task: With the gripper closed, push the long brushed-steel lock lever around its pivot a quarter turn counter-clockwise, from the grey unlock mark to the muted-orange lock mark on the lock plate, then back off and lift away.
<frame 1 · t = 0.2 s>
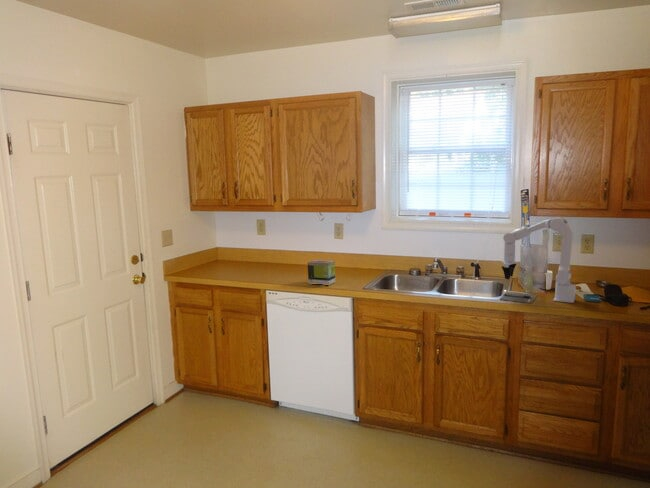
hand: (508, 277, 265), 9 cm above the counter, tool pointing down, fingers open, 7 cm apart
lock lever: (516, 293, 260), point 2 cm above the counter, hinge at 0.0°
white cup: (544, 288, 276), on the counter
tea box: (321, 284, 306), on the counter
lock plate: (518, 298, 258), on the counter
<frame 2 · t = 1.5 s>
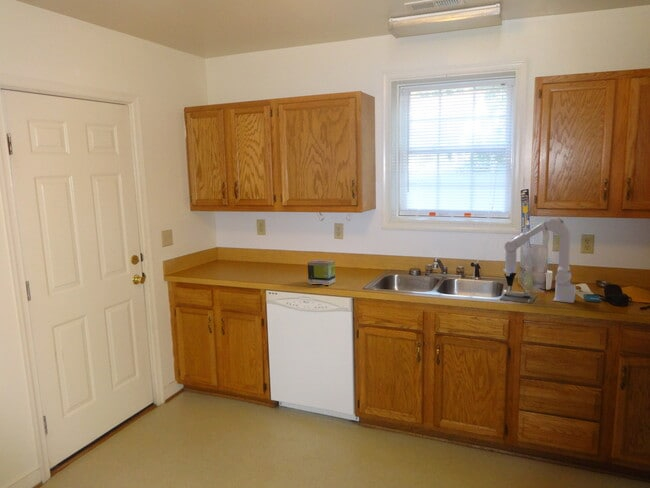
hand: (509, 285, 267), 4 cm above the counter, tool pointing down, fingers closed
nothing on the counter moved.
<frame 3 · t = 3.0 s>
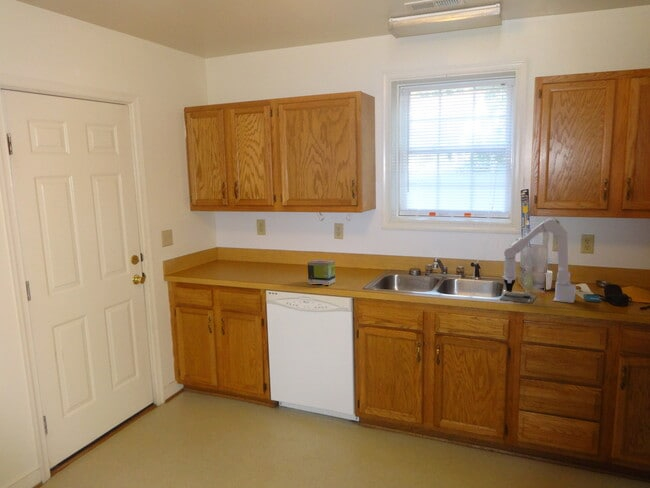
hand: (509, 292, 264), 1 cm above the counter, tool pointing down, fingers closed
lock lever: (516, 293, 260), point 2 cm above the counter, hinge at 1.6°, touching gripper
everything else where it was.
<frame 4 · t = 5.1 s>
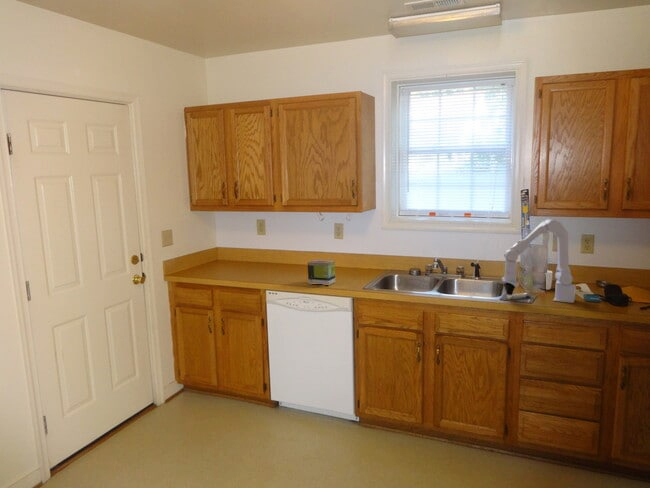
hand: (509, 296, 256), 1 cm above the counter, tool pointing down, fingers closed
lock lever: (518, 295, 255), point 2 cm above the counter, hinge at 49.3°, touching gripper
everything else where it was.
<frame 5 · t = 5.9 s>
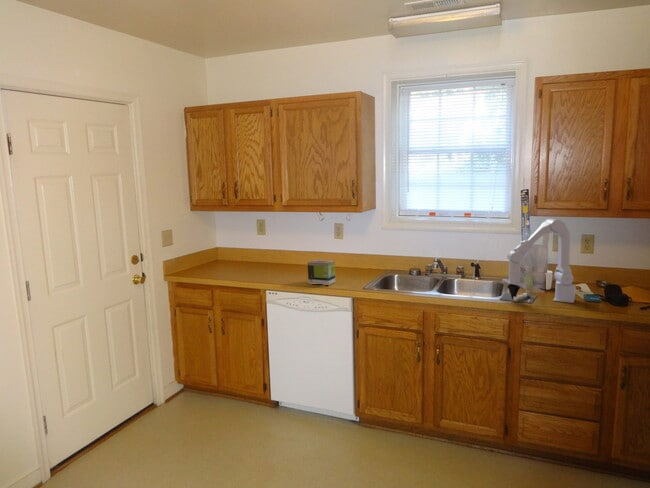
hand: (513, 298, 253), 1 cm above the counter, tool pointing down, fingers closed
lock lever: (521, 296, 254), point 2 cm above the counter, hinge at 70.6°, touching gripper
everything else where it was.
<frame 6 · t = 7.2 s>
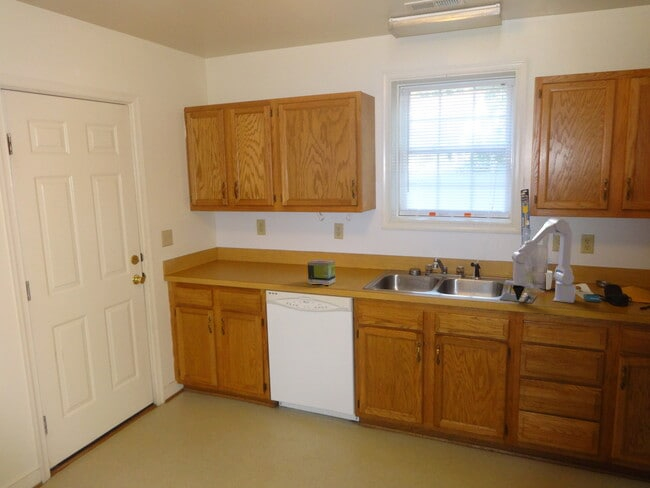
hand: (518, 299, 250), 1 cm above the counter, tool pointing down, fingers closed
lock lever: (524, 297, 253), point 2 cm above the counter, hinge at 87.1°, touching gripper
everything else where it was.
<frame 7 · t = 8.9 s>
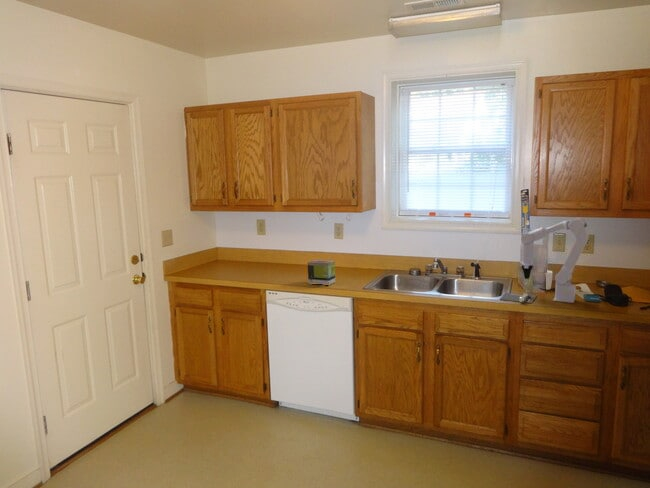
hand: (526, 278, 262), 9 cm above the counter, tool pointing down, fingers closed
lock lever: (524, 297, 253), point 2 cm above the counter, hinge at 87.2°
everything else where it was.
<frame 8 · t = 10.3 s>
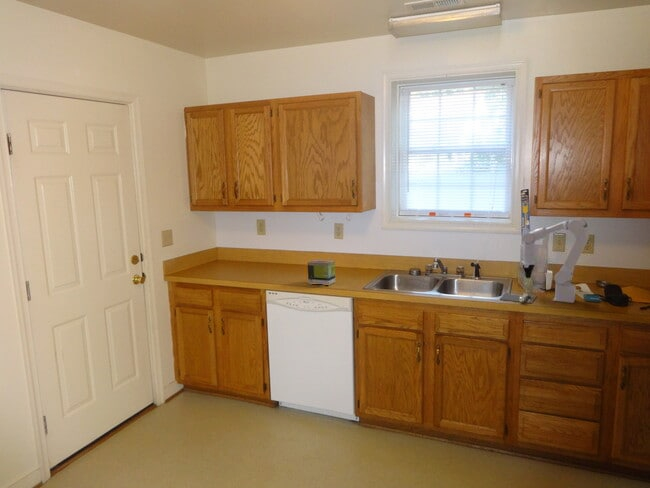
hand: (528, 277, 263), 9 cm above the counter, tool pointing down, fingers closed
nothing on the counter moved.
at the end: lock lever at +87° (first picture: +0°); the gripper is holding nothing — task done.
